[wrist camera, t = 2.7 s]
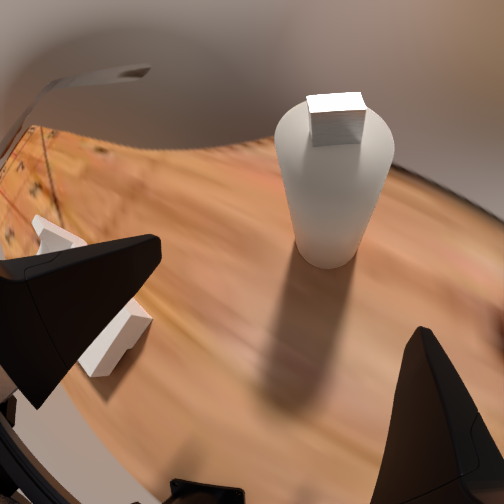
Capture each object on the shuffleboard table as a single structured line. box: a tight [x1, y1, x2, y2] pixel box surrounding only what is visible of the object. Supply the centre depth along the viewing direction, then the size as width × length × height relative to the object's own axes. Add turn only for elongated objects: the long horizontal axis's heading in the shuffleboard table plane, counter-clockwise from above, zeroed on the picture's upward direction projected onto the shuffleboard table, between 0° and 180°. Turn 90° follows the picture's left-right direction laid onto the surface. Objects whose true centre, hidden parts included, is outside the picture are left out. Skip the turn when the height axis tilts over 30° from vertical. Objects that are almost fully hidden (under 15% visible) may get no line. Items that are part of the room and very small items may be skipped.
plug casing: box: [275, 93, 394, 269], centre depth 15 cm, size 5×5×14 cm
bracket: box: [31, 214, 153, 377], centre depth 21 cm, size 13×7×8 cm, turn 52°
